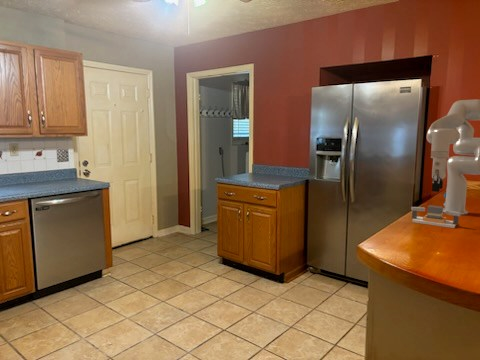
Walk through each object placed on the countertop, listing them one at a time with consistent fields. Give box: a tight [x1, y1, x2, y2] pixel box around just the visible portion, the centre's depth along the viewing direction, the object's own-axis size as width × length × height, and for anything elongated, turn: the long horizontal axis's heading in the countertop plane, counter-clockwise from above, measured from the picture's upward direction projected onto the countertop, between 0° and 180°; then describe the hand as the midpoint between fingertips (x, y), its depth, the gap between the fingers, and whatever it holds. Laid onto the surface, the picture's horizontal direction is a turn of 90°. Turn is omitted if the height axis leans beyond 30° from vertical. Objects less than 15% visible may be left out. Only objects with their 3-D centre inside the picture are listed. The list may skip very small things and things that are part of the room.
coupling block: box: [426, 204, 444, 220], centre depth 174 cm, size 5×6×7 cm
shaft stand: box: [411, 206, 462, 229], centre depth 175 cm, size 21×10×7 cm, turn 53°
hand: (437, 190), depth 173 cm, fingers open, 9 cm apart
